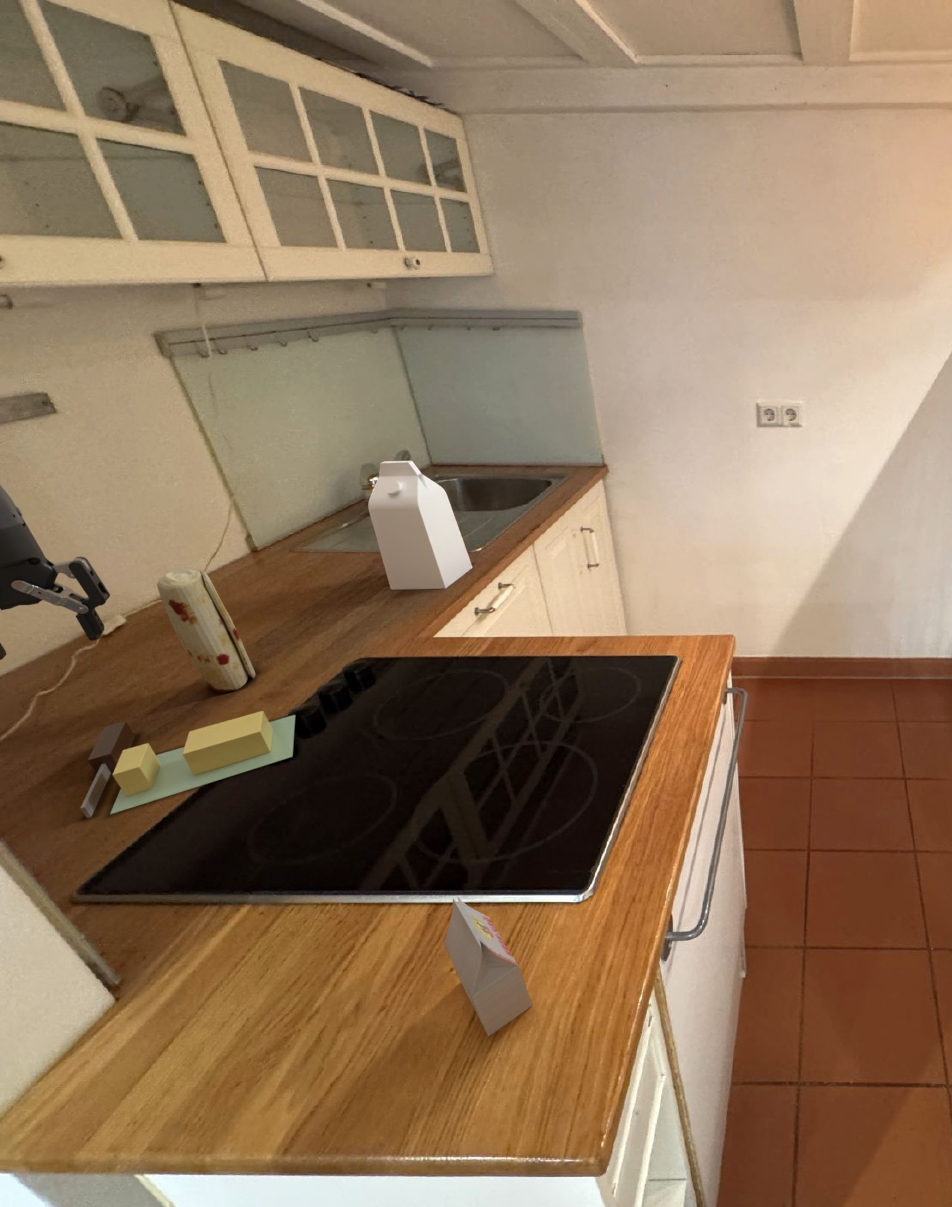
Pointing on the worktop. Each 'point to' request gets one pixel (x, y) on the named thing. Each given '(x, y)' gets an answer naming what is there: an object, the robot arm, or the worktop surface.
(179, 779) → the butter dish
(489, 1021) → the gable top carton
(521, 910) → the worktop surface
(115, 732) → the butter knife
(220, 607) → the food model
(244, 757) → the butter block
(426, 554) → the milk
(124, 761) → the block
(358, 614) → the worktop surface
